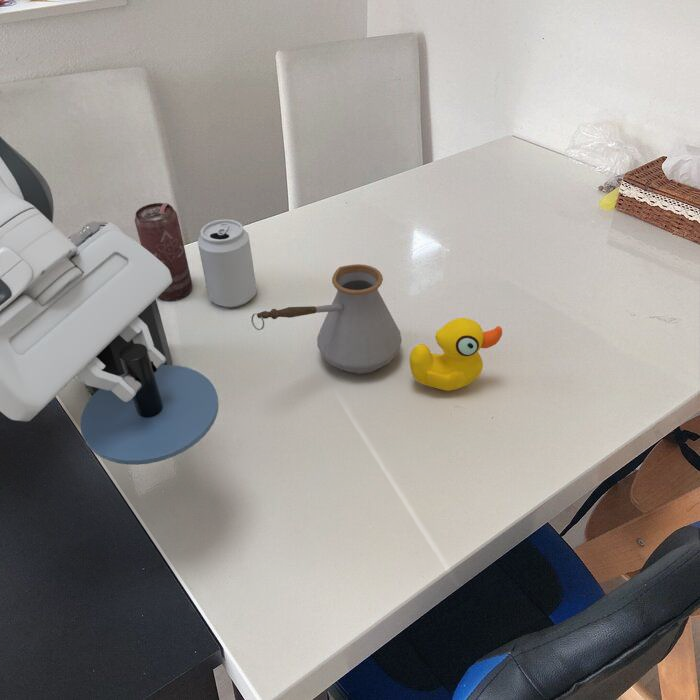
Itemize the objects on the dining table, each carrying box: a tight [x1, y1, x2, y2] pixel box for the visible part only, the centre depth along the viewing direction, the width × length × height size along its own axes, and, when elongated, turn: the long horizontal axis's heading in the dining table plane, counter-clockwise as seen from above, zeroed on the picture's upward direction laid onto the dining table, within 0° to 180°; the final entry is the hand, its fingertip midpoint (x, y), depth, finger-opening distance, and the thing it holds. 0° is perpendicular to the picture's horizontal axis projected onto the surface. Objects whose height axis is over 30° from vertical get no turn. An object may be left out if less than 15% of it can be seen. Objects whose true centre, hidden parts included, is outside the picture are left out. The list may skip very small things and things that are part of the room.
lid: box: [79, 343, 220, 466], centre depth 62 cm, size 13×13×8 cm
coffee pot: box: [251, 263, 403, 375], centre depth 87 cm, size 21×12×15 cm, turn 131°
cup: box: [83, 298, 174, 396], centre depth 89 cm, size 12×12×12 cm
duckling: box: [409, 317, 503, 391], centre depth 86 cm, size 11×5×10 cm, turn 93°
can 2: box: [197, 218, 258, 309], centre depth 102 cm, size 8×8×12 cm
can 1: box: [134, 202, 193, 302], centre depth 103 cm, size 6×6×14 cm
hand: (147, 381), depth 61 cm, fingers closed on lid, 2 cm apart
